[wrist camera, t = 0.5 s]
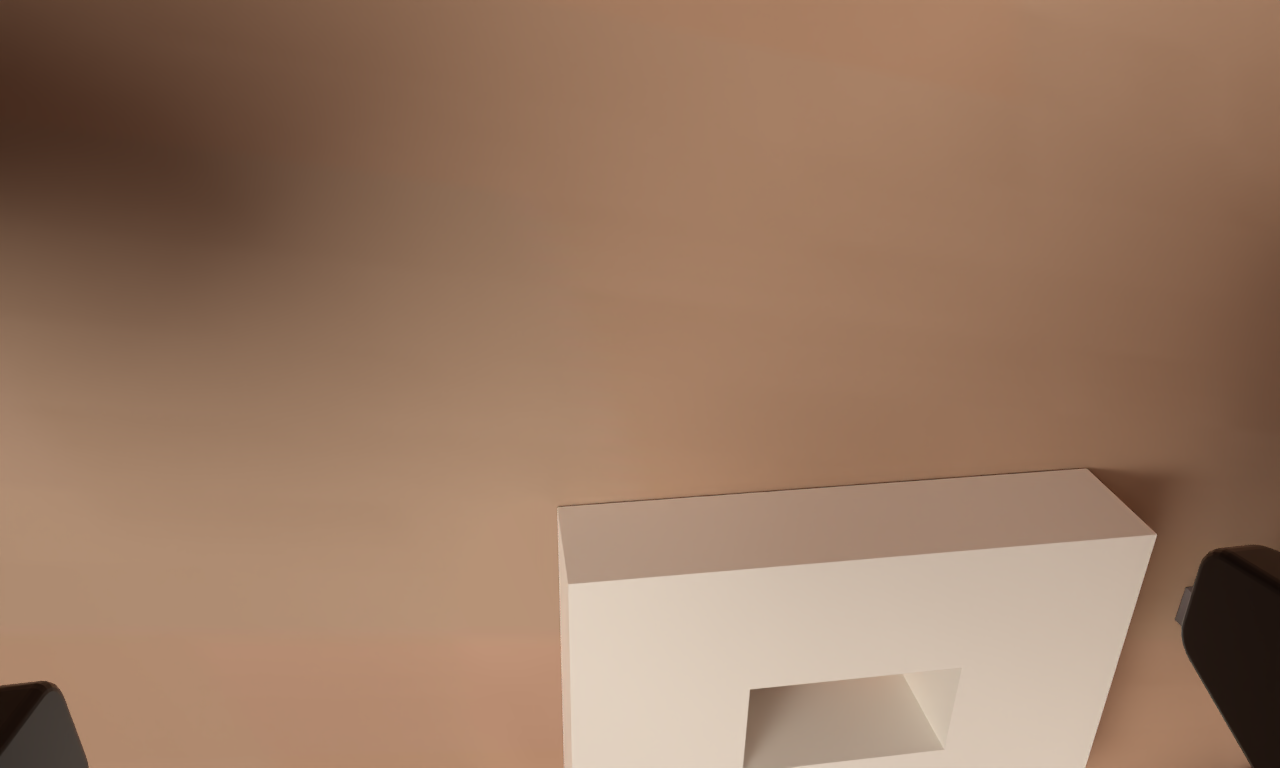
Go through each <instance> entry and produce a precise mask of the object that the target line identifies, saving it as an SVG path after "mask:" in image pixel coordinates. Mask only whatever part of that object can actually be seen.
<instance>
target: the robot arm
mask: <svg viewBox="0 0 1280 768" xmlns="http://www.w3.org/2000/svg"><path fill="white" fill-rule="evenodd" d="M1181 636H1182V641H1183V646H1184V649H1185V651H1186V654H1187V656H1188V658H1189V660H1190V662H1191V663H1192V665H1193V667H1194V668H1195V670H1196V672H1197V674H1198V675H1199V677H1200V679H1201V681H1202V682H1203V684H1204V686H1205V687H1206V689H1207V691H1208V693H1209V694H1210V696H1211V698H1212V699H1213V701H1214V703H1215V705H1216V706H1217V708H1218V710H1219V712H1220V713H1221V715H1222V717H1223V718H1224V720H1225V722H1226V724H1227V725H1228V727H1229V729H1230V730H1231V732H1232V734H1233V736H1234V737H1235V739H1236V741H1237V743H1238V744H1239V746H1240V748H1241V749H1242V751H1243V753H1244V755H1245V756H1246V758H1247V760H1248V762H1249V763H1250V765H1251V767H1252V768H1280V552H1278V551H1276V550H1273V549H1271V548H1268V547H1265V546H1261V545H1244V546H1235V547H1226V548H1218V549H1215V550H1212V551H1210V552H1209V553H1208V554H1207V555H1206V556H1205V557H1204V558H1203V559H1202V561H1201V563H1200V566H1199V569H1198V572H1197V576H1196V579H1195V582H1194V585H1193V589H1192V592H1191V595H1190V599H1189V602H1188V605H1187V608H1186V612H1185V615H1184V618H1183V622H1182V627H1181ZM0 768H89V766H88V762H87V758H86V755H85V752H84V750H83V747H82V744H81V742H80V739H79V736H78V734H77V731H76V728H75V726H74V723H73V720H72V717H71V715H70V712H69V709H68V707H67V704H66V701H65V699H64V696H63V694H62V692H61V691H60V689H59V688H58V687H57V686H56V685H55V684H53V683H51V682H47V681H37V682H28V683H19V684H10V685H1V686H0Z"/></svg>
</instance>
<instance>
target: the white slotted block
mask: <svg viewBox="0 0 1280 768" xmlns="http://www.w3.org/2000/svg"><path fill="white" fill-rule="evenodd" d="M557 518H558V556H559V595H560V633H561V672H562V710H563V749H564V768H1085V767H1086V763H1087V760H1088V757H1089V754H1090V750H1091V747H1092V744H1093V741H1094V738H1095V734H1096V731H1097V728H1098V725H1099V721H1100V718H1101V715H1102V712H1103V708H1104V705H1105V702H1106V699H1107V695H1108V692H1109V689H1110V686H1111V682H1112V679H1113V676H1114V673H1115V670H1116V666H1117V663H1118V660H1119V657H1120V653H1121V650H1122V647H1123V644H1124V640H1125V637H1126V634H1127V631H1128V627H1129V624H1130V621H1131V618H1132V614H1133V611H1134V608H1135V605H1136V602H1137V598H1138V595H1139V592H1140V589H1141V585H1142V582H1143V579H1144V576H1145V572H1146V569H1147V566H1148V563H1149V559H1150V556H1151V553H1152V550H1153V547H1154V543H1155V540H1156V537H1157V534H1156V533H1155V532H1154V531H1153V530H1152V529H1151V528H1150V527H1149V526H1148V525H1147V524H1145V523H1144V522H1143V521H1142V520H1141V519H1140V518H1139V517H1138V516H1137V515H1136V514H1135V513H1134V512H1133V511H1132V510H1131V509H1130V508H1128V507H1127V506H1126V505H1125V504H1124V503H1123V502H1122V501H1121V500H1120V499H1119V498H1118V497H1117V496H1116V495H1115V494H1114V493H1112V492H1111V491H1110V490H1109V489H1108V488H1107V487H1106V486H1105V485H1104V484H1103V483H1102V482H1101V481H1100V480H1099V479H1098V478H1097V477H1095V476H1094V475H1093V474H1092V473H1091V472H1090V471H1089V470H1088V469H1087V468H1086V469H1072V470H1058V471H1044V472H1031V473H1017V474H1003V475H990V476H976V477H962V478H949V479H935V480H921V481H907V482H894V483H880V484H866V485H853V486H839V487H825V488H812V489H798V490H784V491H771V492H757V493H743V494H729V495H716V496H702V497H688V498H675V499H661V500H647V501H634V502H620V503H606V504H592V505H579V506H565V507H557Z"/></svg>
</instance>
